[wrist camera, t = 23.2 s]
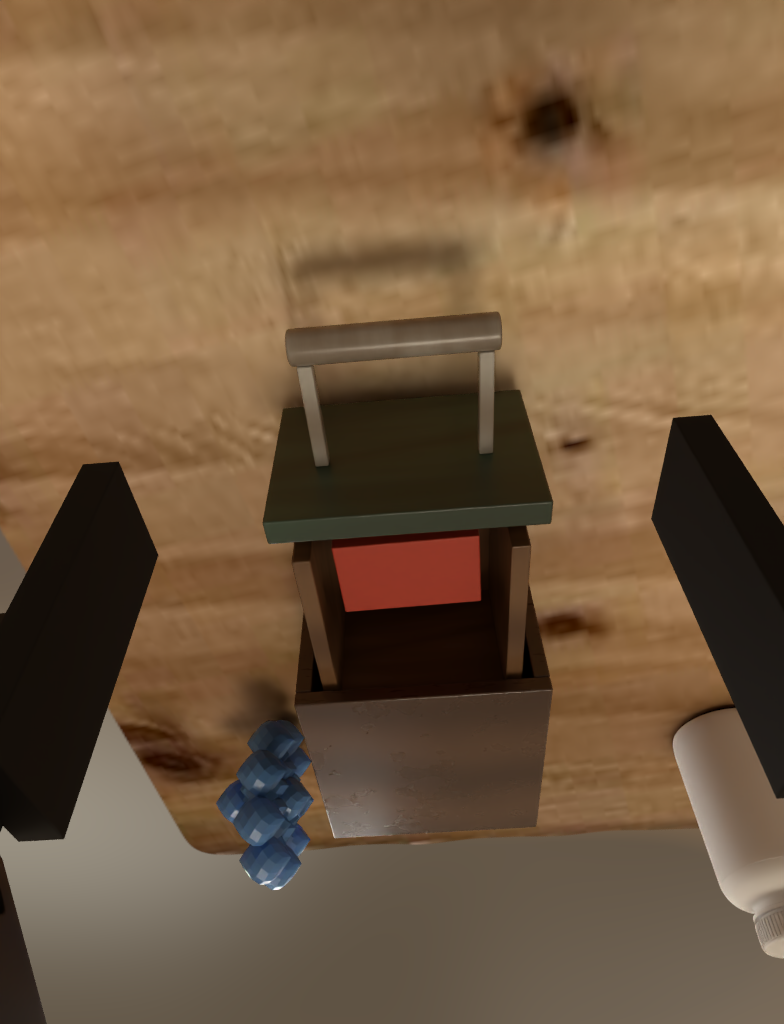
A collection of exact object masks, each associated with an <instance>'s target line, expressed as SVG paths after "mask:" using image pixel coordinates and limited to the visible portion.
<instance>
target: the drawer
mask: <svg viewBox="0 0 784 1024" xmlns="http://www.w3.org/2000/svg"><path fill="white" fill-rule="evenodd" d="M285 345H286V353H287V358H288V362H289V364H290V366H292V367H297V373H298V378H299V383H300V388H301V394H302V399H303V404H304V407H295V408H284V409H283V412H282V418H281V423H280V429H279V435H278V440H277V446H276V451H275V457H274V462H273V468H272V473H271V479H270V485H269V490H268V496H267V501H266V507H265V512H264V518H263V526H264V530H265V534H266V538H267V541H268V543H269V544H276V543H290V542H294V548H293V556H292V566H293V570H294V574H295V578H296V582H297V586H298V590H299V594H300V598H301V602H302V606H303V610H304V614H305V618H306V622H307V626H308V631H309V635H310V639H311V643H312V647H313V651H314V655H315V659H316V663H317V667H318V671H319V675H320V679H321V683H322V687H323V691H333V690H349V689H365V688H381V687H396V686H412V685H428V684H444V683H459V682H475V681H491V680H506V679H522V669H523V655H524V640H525V626H526V612H527V597H528V583H529V568H530V554H531V543H530V539H529V535H528V531H527V527H526V525H540V524H550V523H551V520H552V509H553V500H552V496H551V493H550V489H549V486H548V483H547V479H546V476H545V473H544V469H543V466H542V463H541V459H540V456H539V453H538V449H537V446H536V442H535V439H534V436H533V432H532V429H531V426H530V422H529V419H528V416H527V412H526V409H525V406H524V402H523V399H522V396H521V392H520V390H509V391H497V392H494V377H495V351H494V350H499V349H501V345H502V323H501V317H500V314H499V312H486V313H474V314H462V315H450V316H439V317H427V318H415V319H403V320H391V321H379V322H367V323H355V324H343V325H331V326H319V327H307V328H295V329H288V330H286V334H285ZM468 352H478V393H471V394H459V395H446V396H434V397H421V398H408V399H396V400H383V401H371V402H358V403H346V404H333V405H320V399H319V393H318V388H317V382H316V376H315V370H314V365H321V364H333V363H346V362H358V361H370V360H382V359H394V358H407V357H419V356H431V355H443V354H456V353H468ZM471 529H479V536H480V569H481V601H472V602H460V603H448V604H436V605H424V606H412V607H400V608H387V609H375V610H363V611H351V612H346V611H345V608H344V603H343V599H342V594H341V590H340V585H339V581H338V576H337V572H336V567H335V563H334V558H333V554H332V549H331V548H332V539H346V538H359V537H373V536H387V535H401V534H415V533H429V532H443V531H457V530H471Z"/></svg>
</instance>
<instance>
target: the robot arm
mask: <svg viewBox="0 0 784 1024" xmlns="http://www.w3.org/2000/svg"><path fill="white" fill-rule="evenodd" d="M651 519H652V521H653V524H654V526H655V528H656V530H657V533H658V535H659V537H660V539H661V542H662V544H663V546H664V548H665V550H666V553H667V555H668V557H669V559H670V562H671V564H672V566H673V568H674V571H675V573H676V575H677V577H678V580H679V582H680V584H681V586H682V588H683V591H684V593H685V595H686V597H687V600H688V602H689V604H690V606H691V609H692V611H693V613H694V615H695V618H696V620H697V622H698V624H699V626H700V629H701V631H702V633H703V635H704V638H705V640H706V642H707V644H708V647H709V649H710V651H711V653H712V656H713V658H714V660H715V662H716V665H717V667H718V669H719V671H720V673H721V676H722V678H723V680H724V682H725V685H726V687H727V689H728V691H729V694H730V696H731V698H732V700H733V703H734V705H735V707H736V709H737V711H738V714H739V716H740V718H741V720H742V723H743V725H744V727H745V729H746V732H747V734H748V736H749V738H750V741H751V743H752V745H753V747H754V749H755V752H756V754H757V756H758V758H759V761H760V763H761V765H762V767H763V770H764V772H765V774H766V776H767V779H768V781H769V783H770V785H771V788H772V790H773V792H774V794H775V796H776V799H781V798H784V525H783V524H782V522H781V521H780V519H779V518H778V516H777V514H776V513H775V511H774V510H773V508H772V507H771V505H770V504H769V502H768V501H767V499H766V498H765V496H764V495H763V493H762V492H761V490H760V489H759V487H758V485H757V484H756V482H755V481H754V479H753V478H752V476H751V475H750V473H749V472H748V470H747V469H746V467H745V466H744V464H743V463H742V461H741V459H740V458H739V456H738V455H737V453H736V452H735V450H734V449H733V447H732V446H731V444H730V443H729V441H728V440H727V438H726V437H725V435H724V434H723V432H722V430H721V429H720V427H719V426H718V424H717V423H716V421H715V420H714V418H713V417H712V415H704V416H691V417H678V418H673V420H672V425H671V430H670V434H669V439H668V444H667V448H666V453H665V458H664V462H663V467H662V472H661V476H660V481H659V486H658V490H657V495H656V500H655V504H654V509H653V514H652V518H651ZM157 557H158V553H157V551H156V548H155V546H154V544H153V541H152V539H151V537H150V534H149V532H148V530H147V527H146V525H145V522H144V520H143V518H142V515H141V513H140V511H139V508H138V506H137V504H136V501H135V499H134V497H133V494H132V492H131V490H130V487H129V485H128V483H127V480H126V478H125V476H124V473H123V471H122V468H121V466H120V464H119V462H109V463H96V464H83V465H82V467H81V469H80V471H79V473H78V475H77V477H76V479H75V481H74V483H73V485H72V487H71V488H70V490H69V492H68V494H67V496H66V498H65V500H64V502H63V504H62V506H61V508H60V510H59V512H58V514H57V515H56V517H55V519H54V521H53V523H52V525H51V527H50V529H49V531H48V533H47V535H46V537H45V539H44V540H43V542H42V544H41V546H40V548H39V550H38V552H37V554H36V556H35V558H34V560H33V562H32V564H31V566H30V567H29V569H28V571H27V573H26V575H25V577H24V579H23V581H22V583H21V585H20V587H19V589H18V591H17V593H16V594H15V596H14V599H13V600H12V602H11V604H10V606H9V608H8V610H7V612H6V613H2V614H0V831H1V829H2V826H4V827H5V828H6V829H7V830H8V831H9V832H10V833H11V834H12V835H13V836H14V837H15V838H16V839H17V840H18V841H19V842H20V841H38V840H55V839H64V837H65V834H66V831H67V828H68V825H69V822H70V819H71V816H72V813H73V810H74V807H75V804H76V801H77V798H78V795H79V792H80V789H81V786H82V783H83V780H84V777H85V774H86V771H87V768H88V765H89V762H90V759H91V756H92V753H93V750H94V747H95V744H96V741H97V738H98V735H99V732H100V728H101V726H102V723H103V720H104V717H105V714H106V711H107V708H108V705H109V702H110V699H111V696H112V693H113V690H114V687H115V684H116V681H117V678H118V675H119V672H120V669H121V666H122V663H123V660H124V657H125V654H126V651H127V648H128V645H129V642H130V639H131V636H132V633H133V630H134V627H135V624H136V621H137V618H138V615H139V612H140V609H141V606H142V603H143V600H144V597H145V594H146V591H147V587H148V584H149V581H150V578H151V575H152V572H153V569H154V566H155V563H156V560H157ZM0 1024H47V1023H46V1020H45V1016H44V1012H43V1008H42V1005H41V1001H40V997H39V994H38V990H37V986H36V982H35V979H34V975H33V971H32V967H31V964H30V960H29V957H28V953H27V949H26V945H25V942H24V938H23V934H22V930H21V927H20V923H19V919H18V915H17V912H16V908H15V904H14V901H13V897H12V893H11V889H10V886H9V882H8V879H7V875H6V871H5V867H4V864H3V860H2V858H1V856H0Z"/></svg>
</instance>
